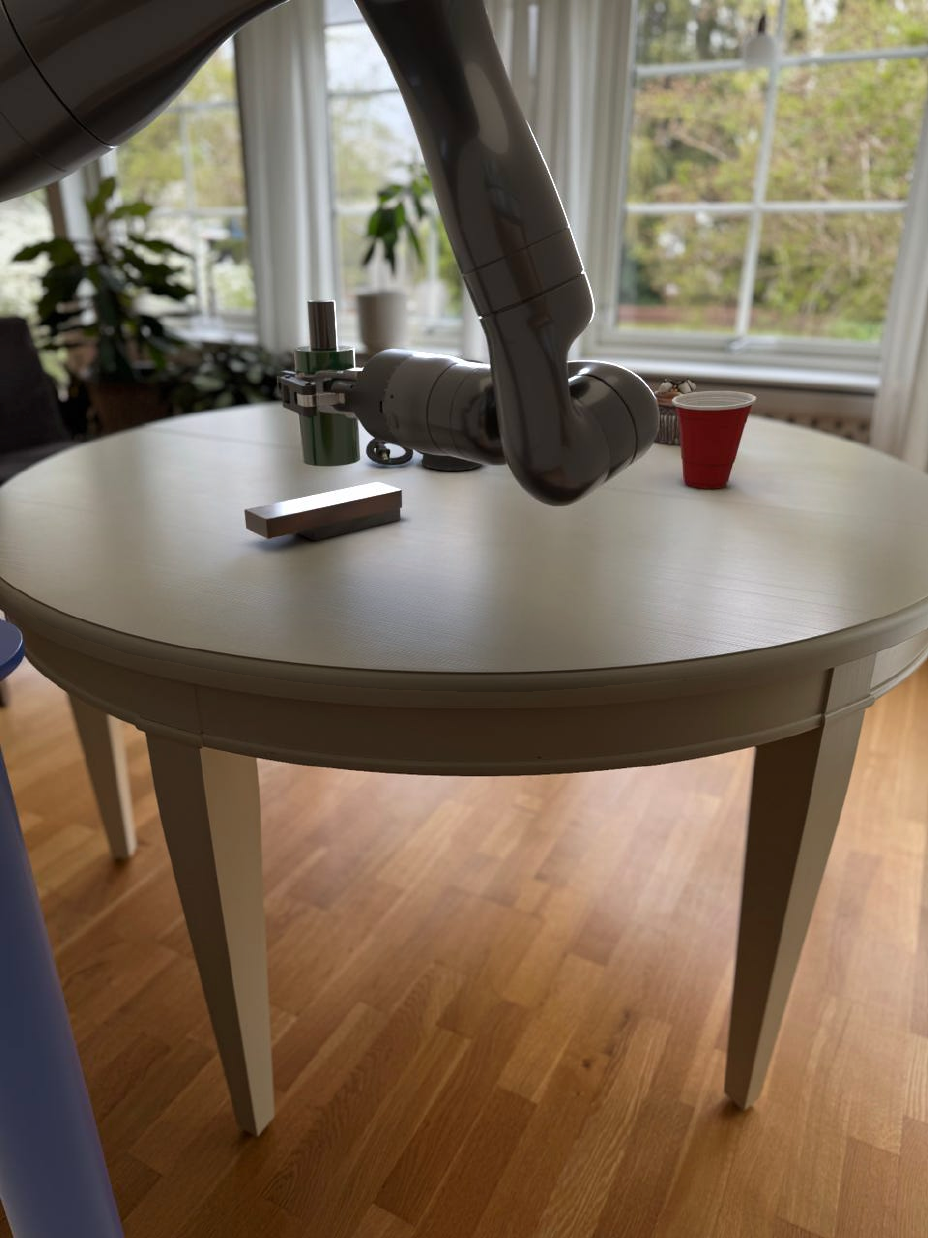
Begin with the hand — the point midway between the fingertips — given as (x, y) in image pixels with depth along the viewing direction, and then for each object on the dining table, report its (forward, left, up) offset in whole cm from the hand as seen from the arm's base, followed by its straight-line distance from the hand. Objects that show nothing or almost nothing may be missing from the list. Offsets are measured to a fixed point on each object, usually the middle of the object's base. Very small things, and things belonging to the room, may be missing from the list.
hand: (311, 379), depth 79 cm
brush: (+7, +11, -19) cm, 23 cm away
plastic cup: (+58, -5, -19) cm, 62 cm away
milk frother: (+36, +29, -19) cm, 50 cm away
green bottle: (0, -3, -7) cm, 7 cm away
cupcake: (+79, +15, -19) cm, 83 cm away
